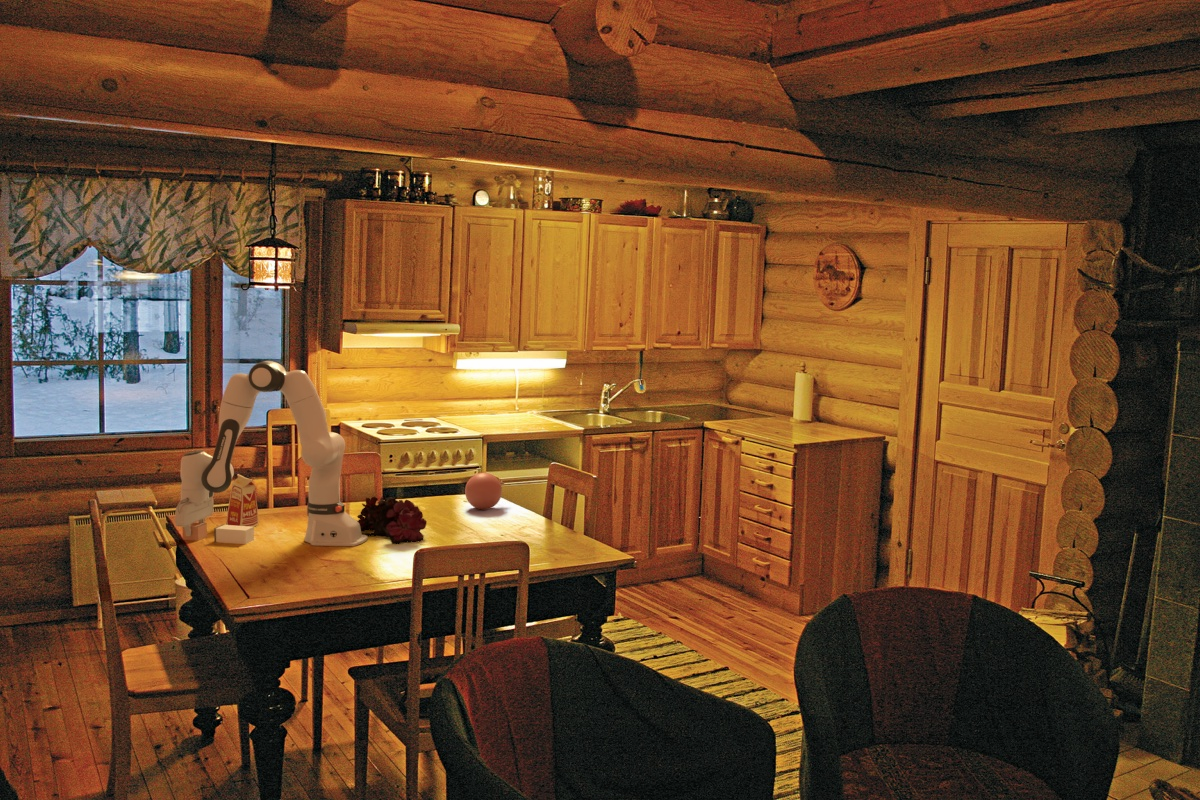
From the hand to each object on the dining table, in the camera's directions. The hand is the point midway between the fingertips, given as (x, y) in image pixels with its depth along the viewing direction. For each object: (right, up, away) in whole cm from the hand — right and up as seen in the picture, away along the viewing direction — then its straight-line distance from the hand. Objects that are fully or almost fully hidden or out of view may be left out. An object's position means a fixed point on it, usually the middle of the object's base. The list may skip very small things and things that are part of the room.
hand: (194, 533), depth 386 cm
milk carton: (+10, 0, +23) cm, 25 cm away
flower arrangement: (+69, -3, +15) cm, 71 cm away
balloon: (+99, +2, +65) cm, 118 cm away
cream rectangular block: (+15, -3, -2) cm, 15 cm away
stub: (0, -2, 0) cm, 2 cm away
